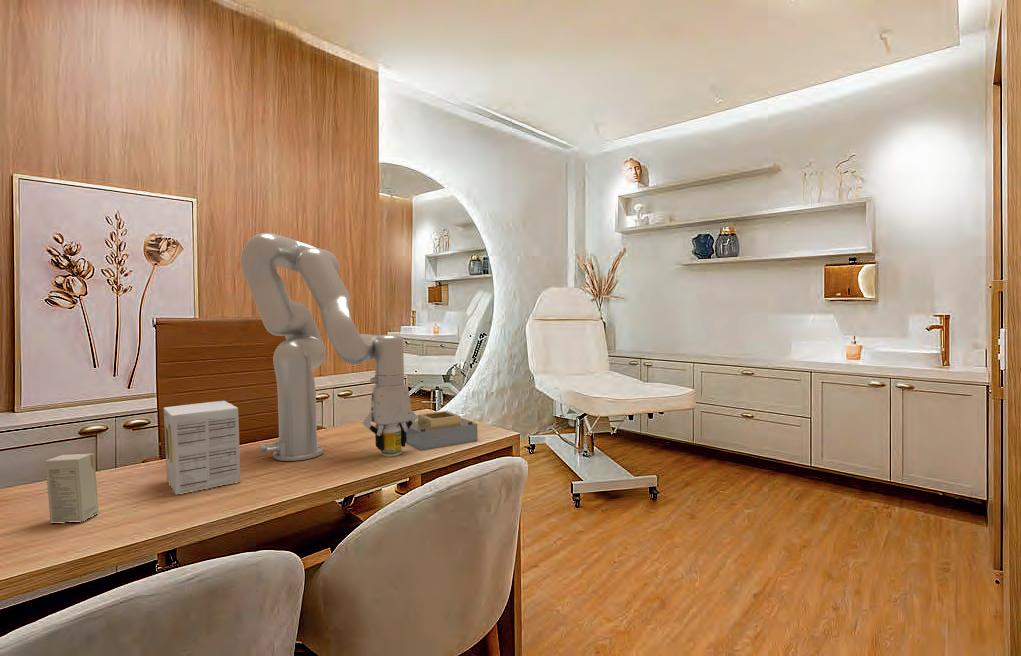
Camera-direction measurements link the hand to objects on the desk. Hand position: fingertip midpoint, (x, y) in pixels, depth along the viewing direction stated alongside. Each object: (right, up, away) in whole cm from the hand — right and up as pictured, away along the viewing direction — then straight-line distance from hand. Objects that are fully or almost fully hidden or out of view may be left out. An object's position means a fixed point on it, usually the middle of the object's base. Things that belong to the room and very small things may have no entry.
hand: (391, 446), depth 145 cm
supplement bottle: (0, -2, 0) cm, 2 cm away
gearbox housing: (+11, -1, +14) cm, 18 cm away
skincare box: (-51, -5, -42) cm, 67 cm away
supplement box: (-39, -4, -21) cm, 44 cm away
